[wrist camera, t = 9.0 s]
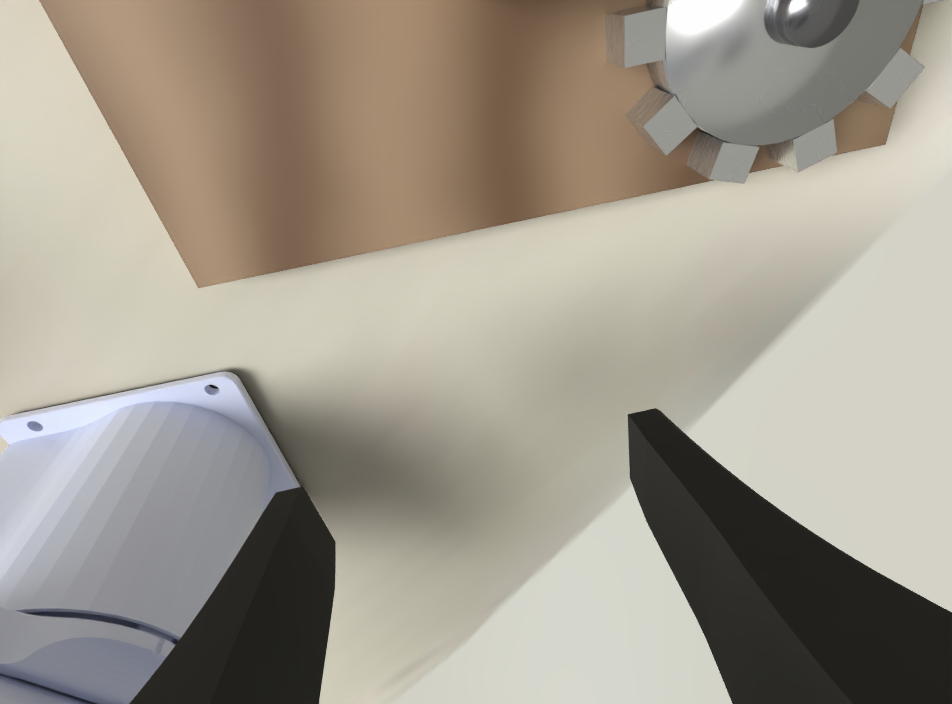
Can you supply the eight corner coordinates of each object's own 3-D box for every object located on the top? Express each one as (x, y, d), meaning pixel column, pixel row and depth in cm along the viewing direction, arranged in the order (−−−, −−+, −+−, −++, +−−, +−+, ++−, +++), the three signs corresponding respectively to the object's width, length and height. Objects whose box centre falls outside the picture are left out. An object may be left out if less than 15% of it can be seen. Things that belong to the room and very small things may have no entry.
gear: (609, 191, 16) (638, 220, 14) (599, -182, 11) (641, -218, 9) (878, 135, 16) (947, 156, 14) (983, -267, 11) (1109, -323, 9)
